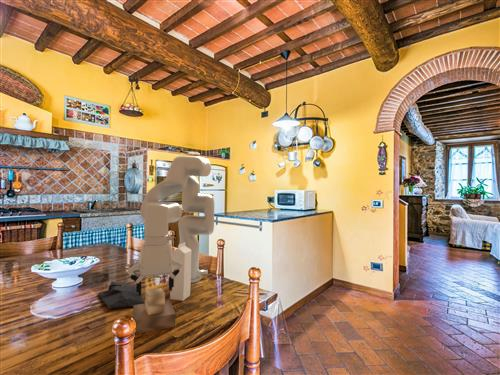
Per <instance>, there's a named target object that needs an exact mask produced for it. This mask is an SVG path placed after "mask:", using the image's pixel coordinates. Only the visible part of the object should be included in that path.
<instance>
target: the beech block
mask: <svg viewBox="0 0 500 375" xmlns="http://www.w3.org/2000/svg"><path fill="white" fill-rule="evenodd" d="M144 299H145V300H144V302H145V310H146V312H147V314H148V315H151V314H155V313H160V312H164V310H165V300H166V292H165V291H164V290H163V289H162V288H161V287H160V288H153V289H148V290H145V298H144Z"/></svg>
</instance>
